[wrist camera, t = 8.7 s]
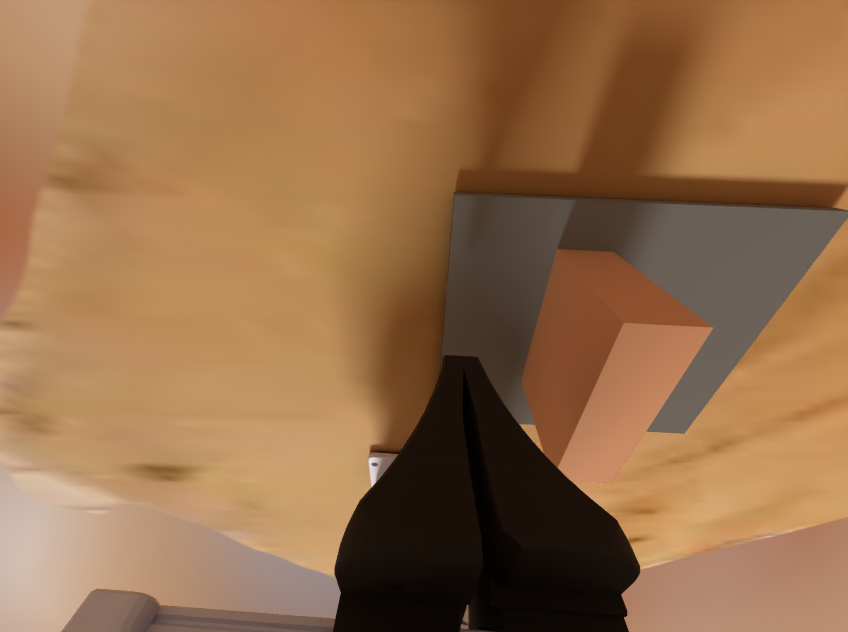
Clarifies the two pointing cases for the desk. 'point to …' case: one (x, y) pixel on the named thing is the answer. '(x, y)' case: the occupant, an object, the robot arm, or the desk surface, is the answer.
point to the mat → (648, 253)
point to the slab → (604, 361)
